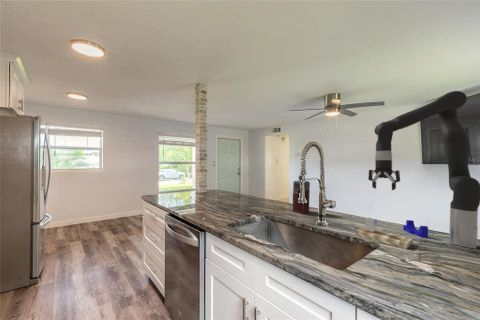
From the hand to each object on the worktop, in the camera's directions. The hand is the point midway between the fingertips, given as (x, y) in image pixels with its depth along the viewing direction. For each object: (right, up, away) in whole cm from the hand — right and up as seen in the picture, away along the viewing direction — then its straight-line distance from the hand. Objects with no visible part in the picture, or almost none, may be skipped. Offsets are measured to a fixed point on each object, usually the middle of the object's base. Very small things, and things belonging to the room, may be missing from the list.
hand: (383, 189), depth 115 cm
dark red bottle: (-33, -24, +45) cm, 61 cm away
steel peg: (-9, -24, -3) cm, 26 cm away
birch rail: (-6, -24, -8) cm, 26 cm away
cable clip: (+19, -25, +2) cm, 32 cm away
